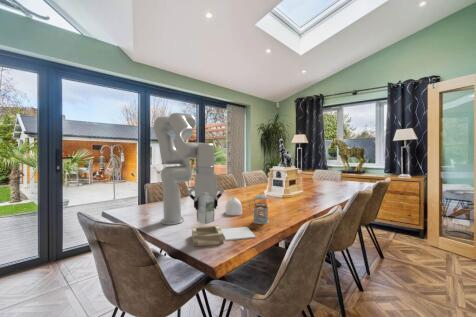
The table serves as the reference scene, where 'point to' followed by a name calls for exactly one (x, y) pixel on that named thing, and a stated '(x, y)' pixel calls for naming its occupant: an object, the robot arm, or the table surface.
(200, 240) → the holder
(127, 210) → the table surface
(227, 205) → the teardrop
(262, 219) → the grey lantern
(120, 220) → the table surface
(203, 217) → the syrup box
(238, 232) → the mat
